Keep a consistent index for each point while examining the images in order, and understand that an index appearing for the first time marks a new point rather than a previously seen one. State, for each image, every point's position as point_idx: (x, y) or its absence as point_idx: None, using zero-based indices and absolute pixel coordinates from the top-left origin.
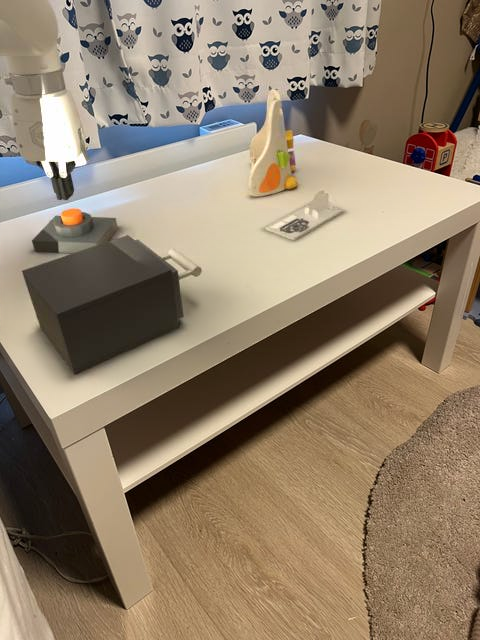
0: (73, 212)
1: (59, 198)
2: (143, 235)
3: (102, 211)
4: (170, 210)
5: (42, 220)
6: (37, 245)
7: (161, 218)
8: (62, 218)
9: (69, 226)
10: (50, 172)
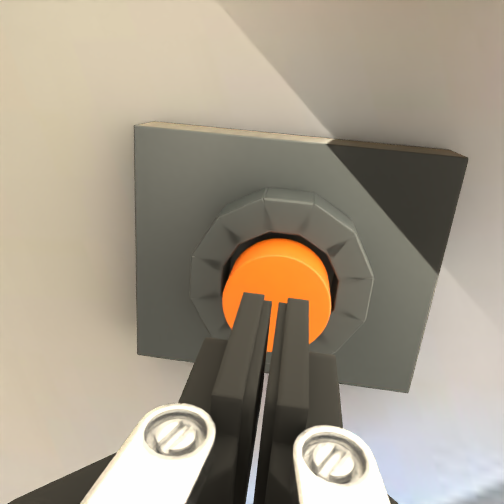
0: None
1: (289, 300)
2: (40, 273)
3: (254, 455)
4: (18, 438)
5: (479, 412)
6: (436, 152)
7: (26, 388)
8: (315, 265)
9: (273, 218)
10: (324, 475)
